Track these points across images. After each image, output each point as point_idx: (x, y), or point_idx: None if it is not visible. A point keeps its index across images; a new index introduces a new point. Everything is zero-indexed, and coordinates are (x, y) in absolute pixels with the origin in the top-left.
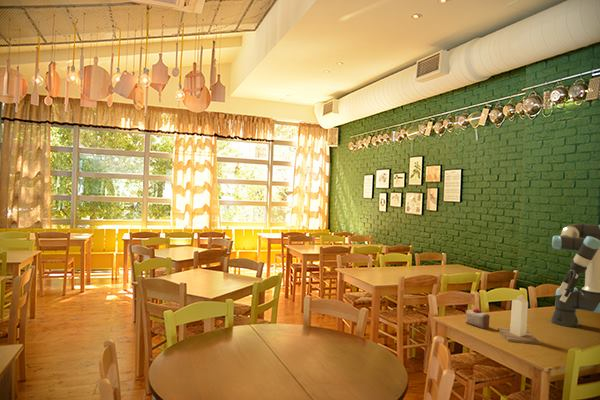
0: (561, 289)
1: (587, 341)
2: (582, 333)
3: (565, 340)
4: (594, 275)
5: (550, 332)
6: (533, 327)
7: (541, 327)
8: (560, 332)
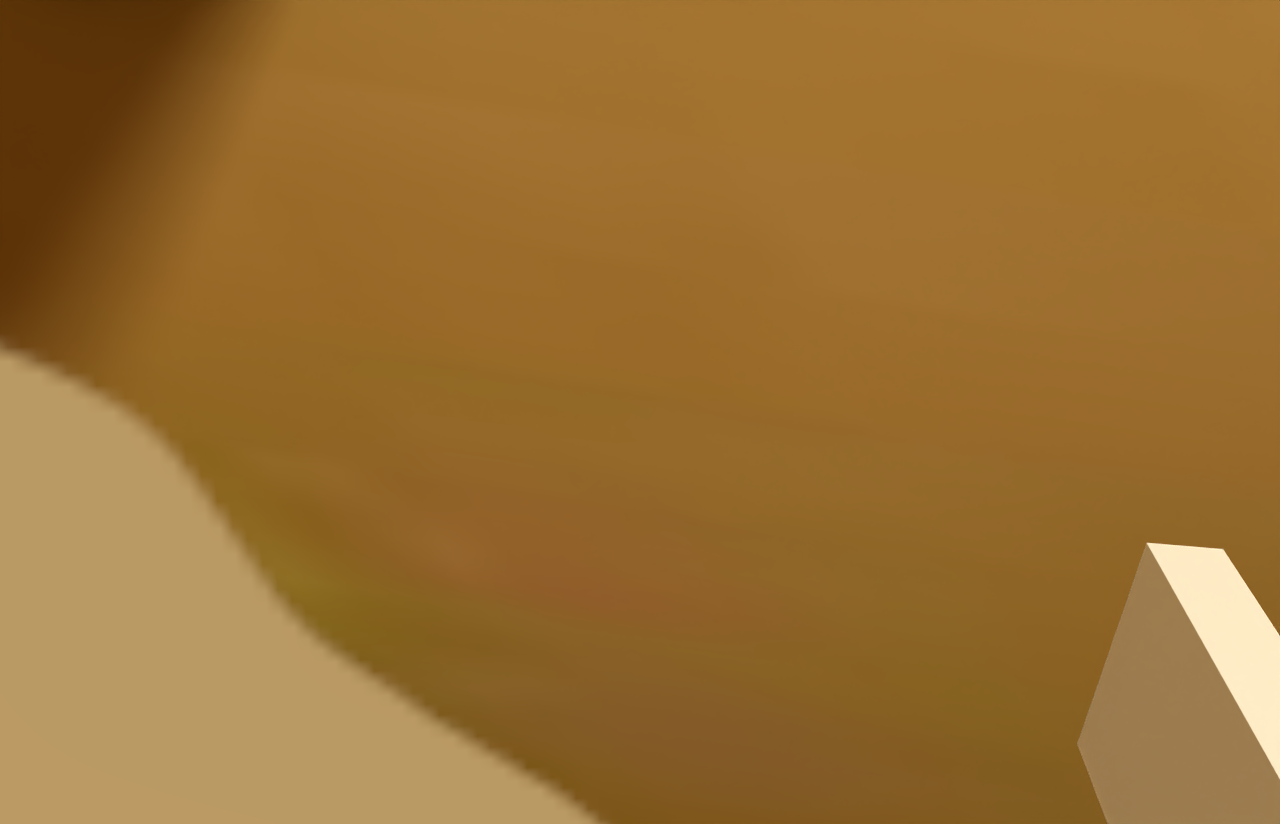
0: (1191, 795)
1: (762, 804)
2: None
3: (617, 474)
4: None
5: (1010, 304)
6: (1202, 49)
7: (1272, 198)
8: (1098, 474)
